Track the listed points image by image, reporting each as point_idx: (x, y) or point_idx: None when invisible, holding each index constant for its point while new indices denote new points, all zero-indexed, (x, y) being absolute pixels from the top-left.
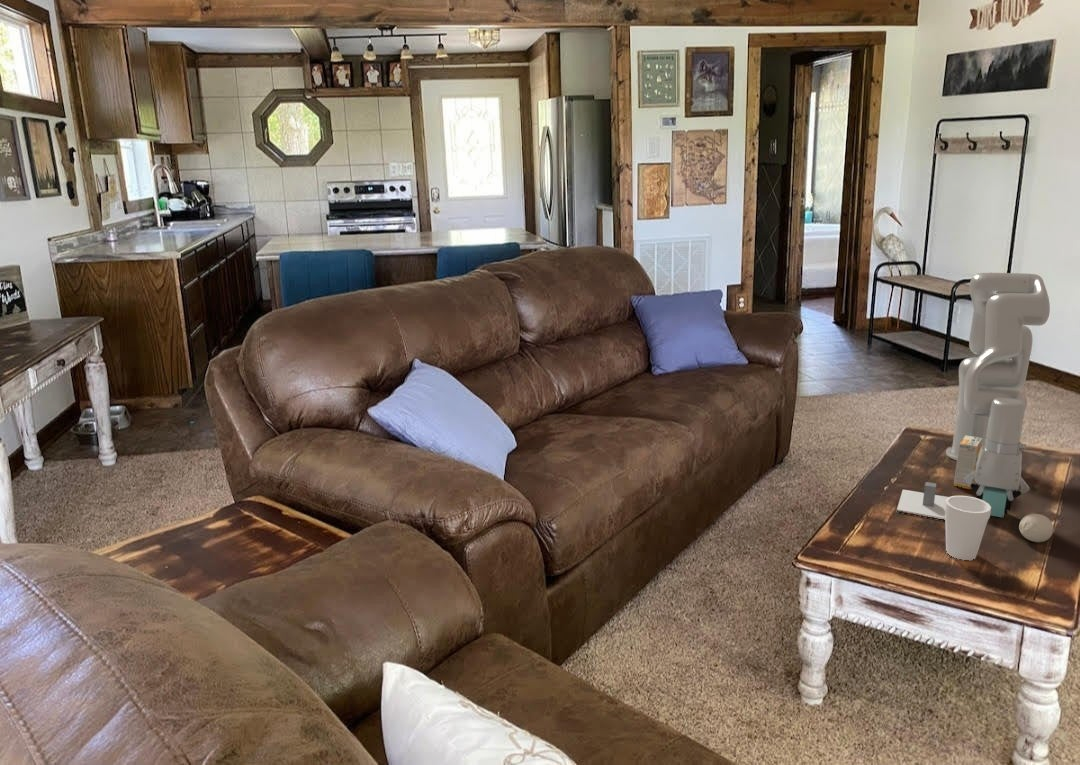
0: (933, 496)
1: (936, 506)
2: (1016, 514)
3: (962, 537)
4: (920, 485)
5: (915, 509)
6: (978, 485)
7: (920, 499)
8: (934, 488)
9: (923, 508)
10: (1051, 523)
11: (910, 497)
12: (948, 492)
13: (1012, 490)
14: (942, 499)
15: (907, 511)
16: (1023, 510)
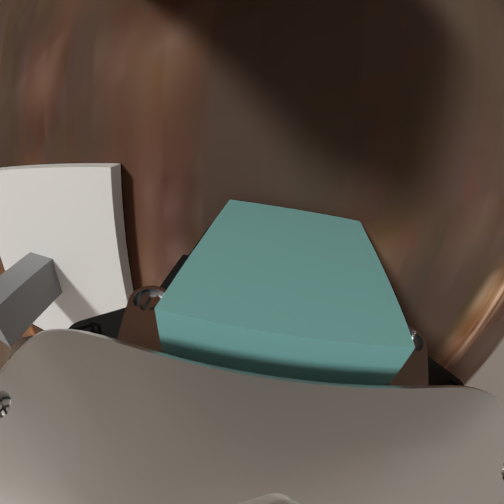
0: (33, 318)
1: (67, 288)
2: (411, 249)
3: None
4: (14, 67)
5: (44, 317)
6: (122, 327)
7: (21, 239)
8: (12, 341)
9: (52, 309)
10: None
11: (5, 232)
12: (82, 64)
13: (424, 378)
14: (60, 210)
15: (41, 327)
16: (460, 187)
